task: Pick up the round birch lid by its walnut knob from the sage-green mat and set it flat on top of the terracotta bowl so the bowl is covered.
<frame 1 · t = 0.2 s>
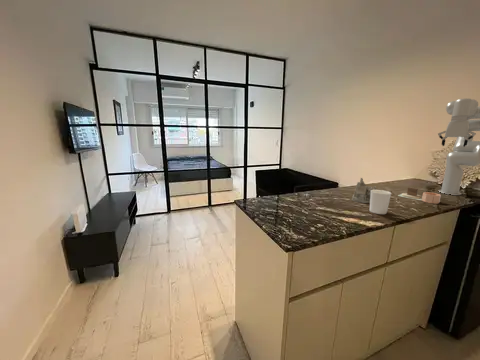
hand: (453, 146, 136), 36 cm above the counter, tool pointing down, fingers open, 9 cm apart
mat: (411, 197, 147), on the counter
candle holder: (377, 212, 119), on the counter
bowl: (430, 202, 135), on the counter
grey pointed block: (365, 200, 141), on the counter
lid: (411, 196, 147), point 1 cm above the counter, touching mat
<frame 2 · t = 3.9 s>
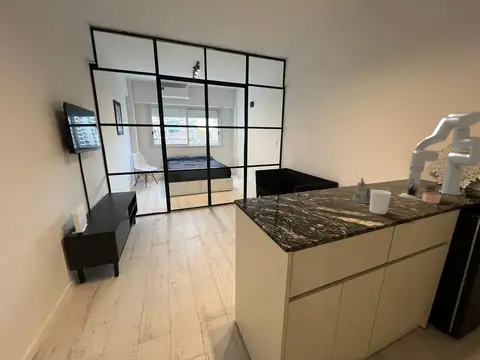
hand: (412, 194, 146), 2 cm above the counter, tool pointing down, fingers closed on lid, 3 cm apart
lid: (411, 196, 147), point 1 cm above the counter, touching gripper
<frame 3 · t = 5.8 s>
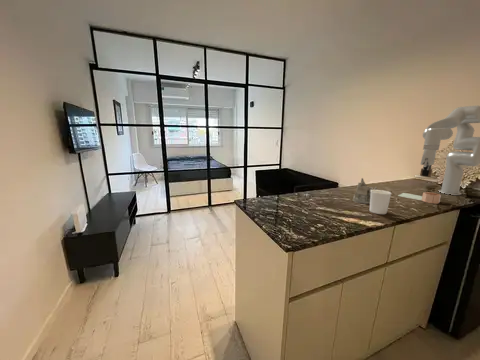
hand: (425, 175, 137), 17 cm above the counter, tool pointing down, fingers closed on lid, 3 cm apart
lid: (425, 177, 138), point 16 cm above the counter, touching gripper
when the fingers open (9 cm above the counter, at t = 7.9 s): lid drops 2 cm, resting on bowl.
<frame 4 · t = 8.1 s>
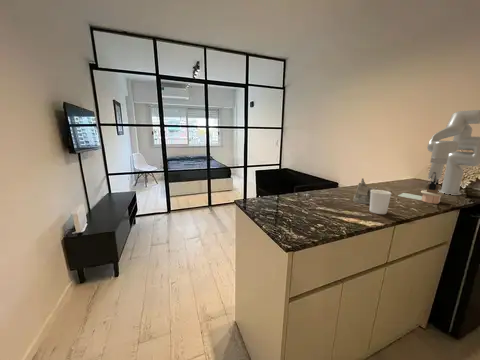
hand: (432, 188, 133), 9 cm above the counter, tool pointing down, fingers open, 4 cm apart
lid: (431, 193, 134), point 6 cm above the counter, touching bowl
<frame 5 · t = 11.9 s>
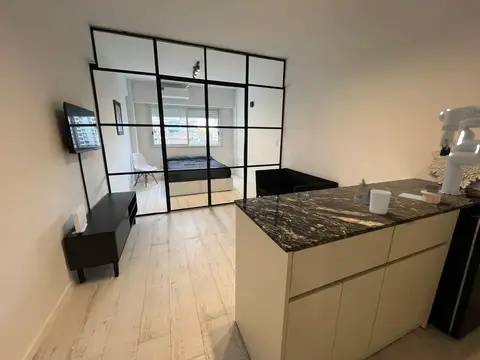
hand: (444, 155, 136), 30 cm above the counter, tool pointing down, fingers open, 9 cm apart
at the end: lid 0.1 cm from the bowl (horizontally); lid point 6.0 cm above the counter; lid tilted 0° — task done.
